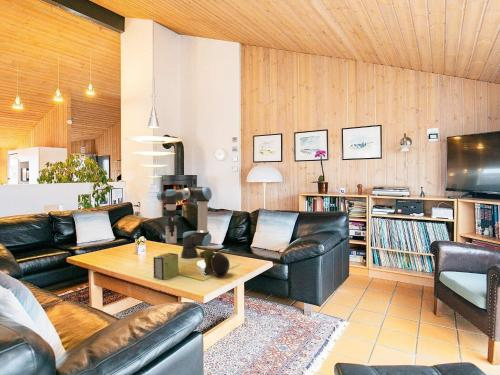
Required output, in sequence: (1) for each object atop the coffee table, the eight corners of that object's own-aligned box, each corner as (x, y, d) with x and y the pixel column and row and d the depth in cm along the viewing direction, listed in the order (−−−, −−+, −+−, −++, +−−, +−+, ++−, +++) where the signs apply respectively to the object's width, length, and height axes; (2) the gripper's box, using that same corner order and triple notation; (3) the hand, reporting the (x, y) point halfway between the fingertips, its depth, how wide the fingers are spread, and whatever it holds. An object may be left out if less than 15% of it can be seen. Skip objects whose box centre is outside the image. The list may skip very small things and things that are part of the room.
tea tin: (175, 241, 241) (175, 225, 241) (176, 243, 234) (176, 227, 234) (165, 241, 238) (165, 226, 238) (166, 243, 231) (166, 227, 231)
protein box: (178, 274, 235) (178, 254, 234) (163, 280, 222) (163, 258, 221) (168, 272, 240) (168, 252, 240) (153, 277, 227) (153, 256, 226)
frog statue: (217, 285, 224) (192, 270, 236) (230, 278, 237) (205, 264, 249) (222, 262, 220) (196, 248, 232) (235, 256, 233) (209, 243, 245)
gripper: (164, 208, 243) (164, 237, 244) (167, 211, 225) (168, 242, 225) (173, 208, 246) (173, 237, 247) (178, 210, 228) (178, 241, 228)
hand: (171, 239), depth 236 cm, fingers closed on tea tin, 7 cm apart
